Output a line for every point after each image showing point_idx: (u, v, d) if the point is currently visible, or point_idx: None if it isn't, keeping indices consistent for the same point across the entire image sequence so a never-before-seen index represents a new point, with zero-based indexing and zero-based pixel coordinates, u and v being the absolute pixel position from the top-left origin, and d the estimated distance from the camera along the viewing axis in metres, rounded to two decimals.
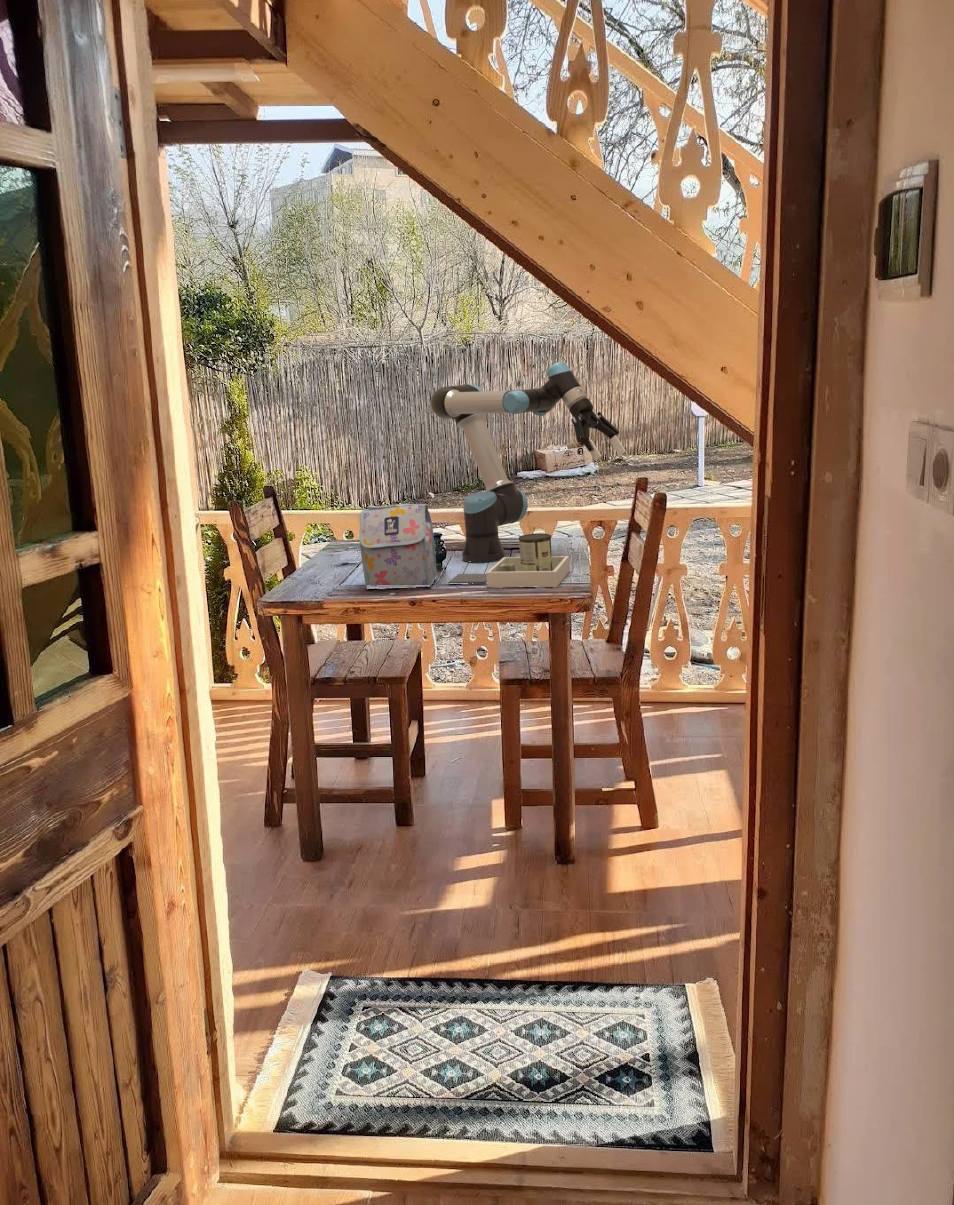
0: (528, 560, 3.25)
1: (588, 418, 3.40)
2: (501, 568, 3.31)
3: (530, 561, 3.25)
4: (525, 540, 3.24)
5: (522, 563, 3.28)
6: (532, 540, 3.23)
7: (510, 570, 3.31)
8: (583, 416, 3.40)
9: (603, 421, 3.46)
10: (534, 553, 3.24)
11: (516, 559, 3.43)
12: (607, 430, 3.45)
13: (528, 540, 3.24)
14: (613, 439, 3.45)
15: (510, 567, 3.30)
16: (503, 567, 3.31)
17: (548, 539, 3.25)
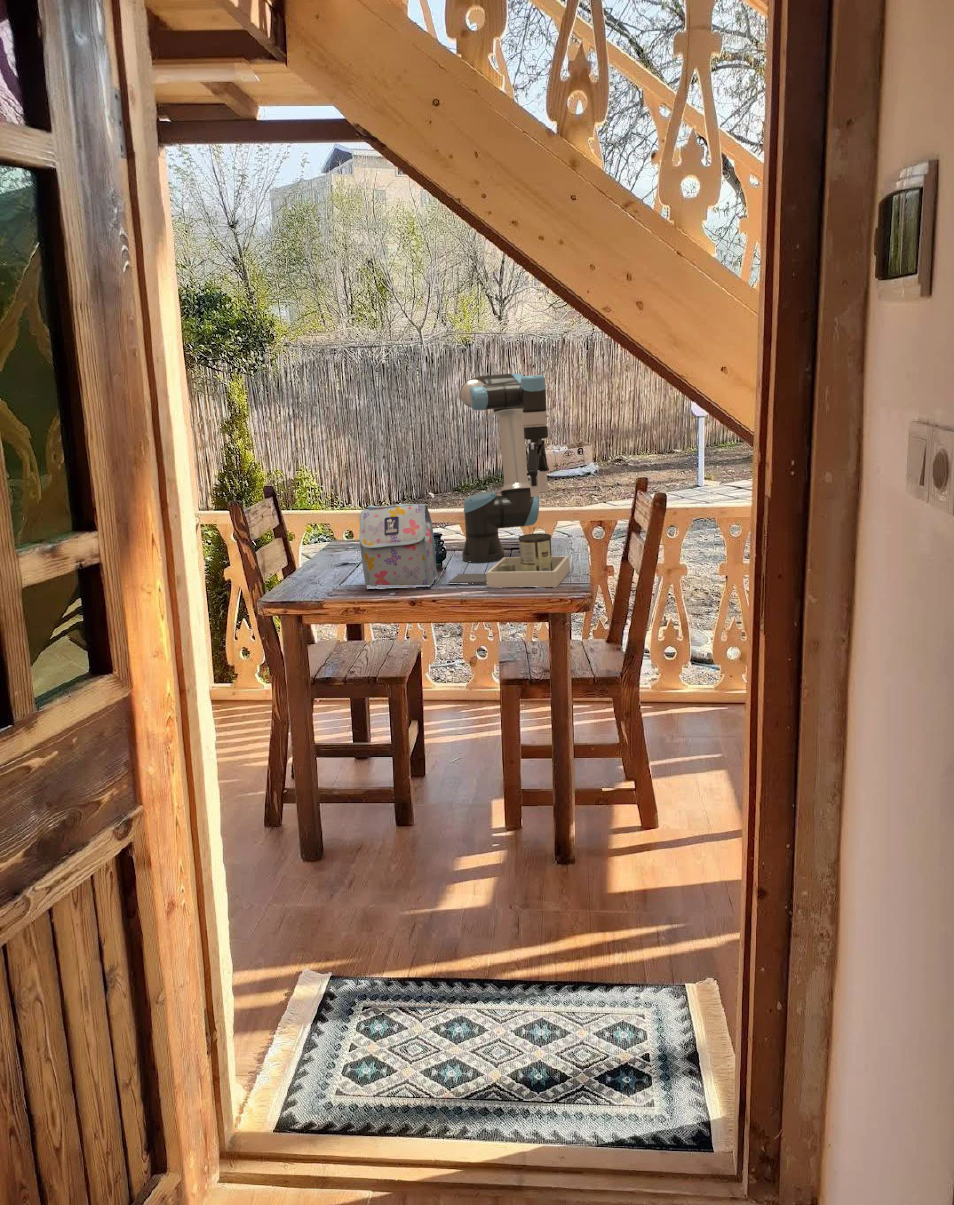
0: (528, 560, 3.25)
1: (541, 449, 3.20)
2: (501, 568, 3.31)
3: (530, 561, 3.25)
4: (525, 540, 3.24)
5: (522, 563, 3.28)
6: (532, 540, 3.23)
7: (510, 570, 3.30)
8: (538, 445, 3.19)
9: None
10: (534, 553, 3.24)
11: (516, 559, 3.43)
12: (543, 463, 3.29)
13: (528, 540, 3.24)
14: (542, 473, 3.31)
15: (510, 567, 3.30)
16: (503, 567, 3.31)
17: (548, 539, 3.25)
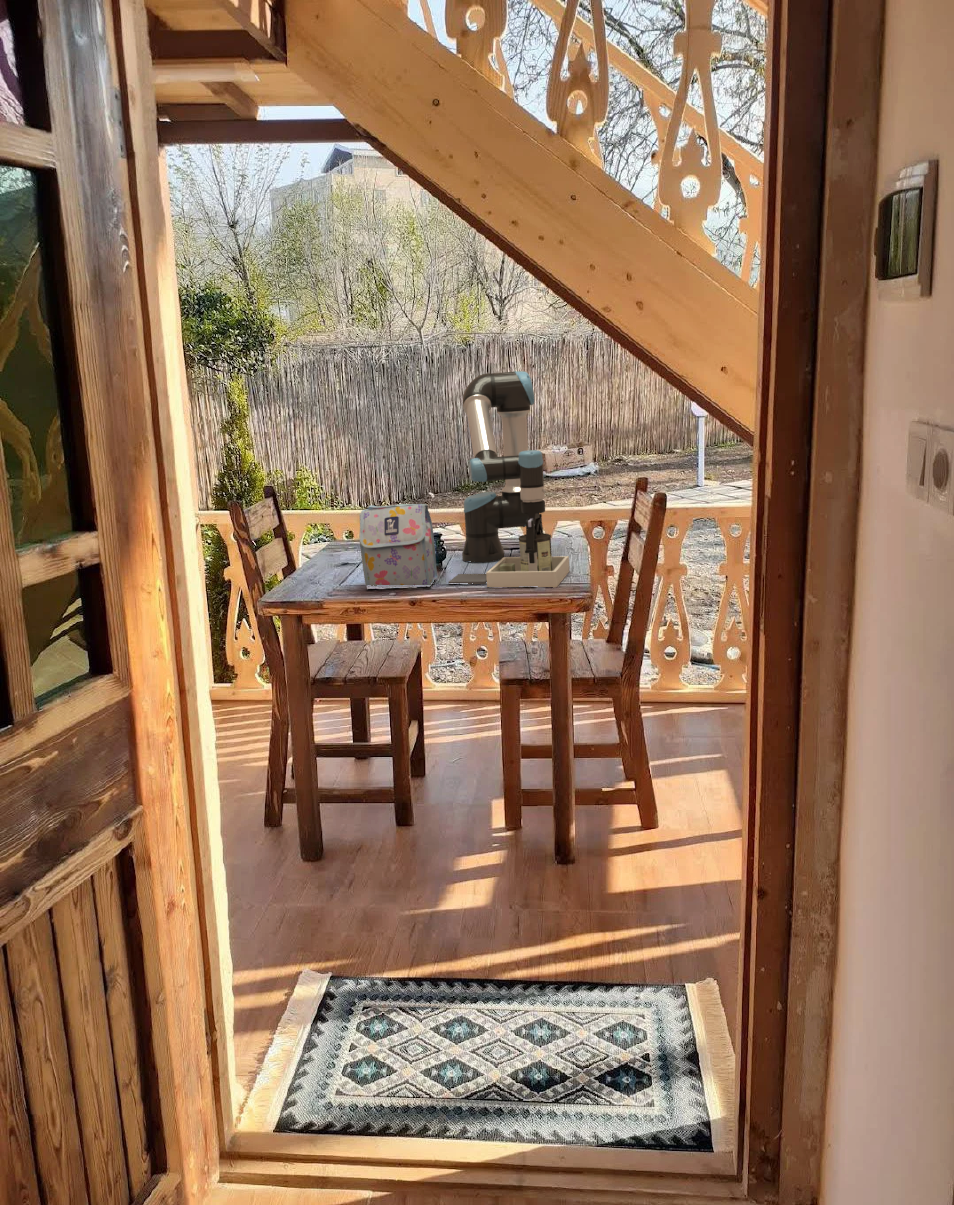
0: None
1: (538, 524, 3.25)
2: (501, 568, 3.31)
3: None
4: (525, 540, 3.24)
5: (522, 563, 3.28)
6: None
7: (510, 570, 3.31)
8: (535, 519, 3.23)
9: None
10: None
11: (516, 559, 3.43)
12: None
13: None
14: None
15: (510, 567, 3.30)
16: (503, 567, 3.31)
17: (548, 539, 3.25)
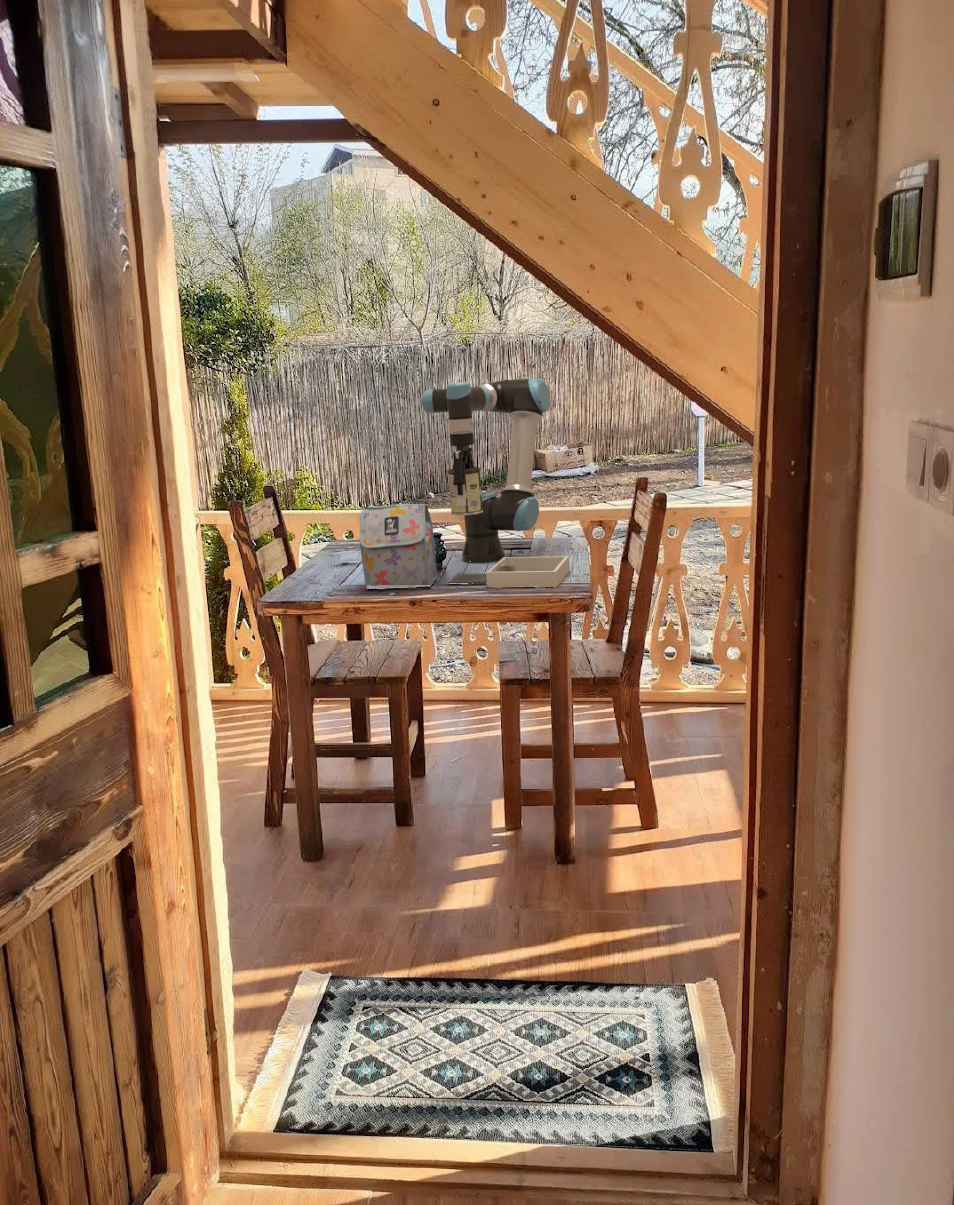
0: (456, 493, 3.25)
1: (466, 456, 3.24)
2: (501, 568, 3.31)
3: None
4: (453, 472, 3.24)
5: (451, 496, 3.27)
6: None
7: (510, 570, 3.31)
8: (463, 451, 3.23)
9: None
10: None
11: (516, 559, 3.43)
12: None
13: None
14: None
15: (510, 567, 3.30)
16: (503, 567, 3.31)
17: (477, 471, 3.25)
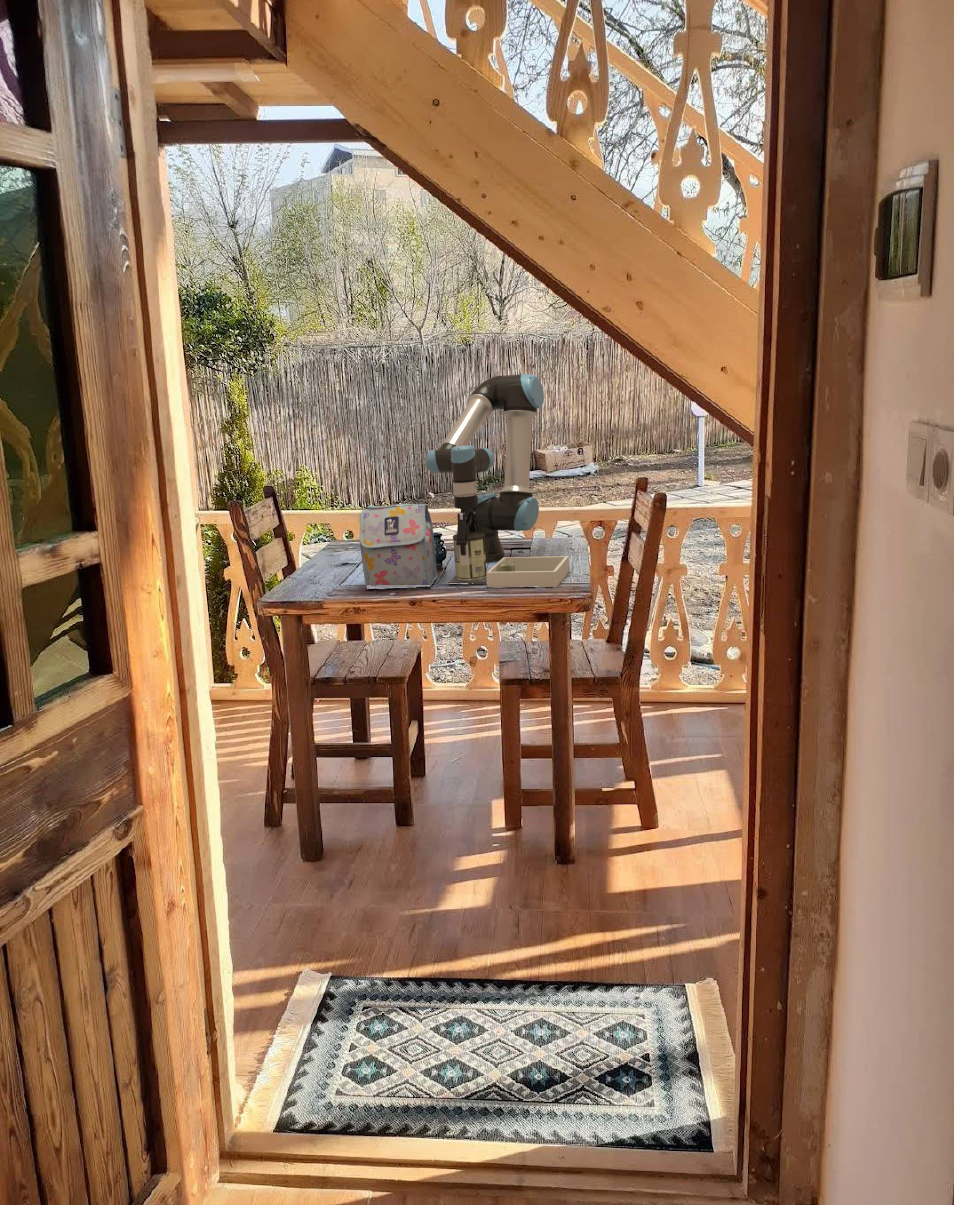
0: None
1: (470, 518, 3.28)
2: (501, 568, 3.31)
3: None
4: None
5: (456, 561, 3.32)
6: None
7: (510, 570, 3.31)
8: (467, 514, 3.28)
9: None
10: None
11: (516, 559, 3.43)
12: (474, 529, 3.37)
13: None
14: None
15: (510, 567, 3.30)
16: (503, 567, 3.31)
17: (481, 538, 3.29)
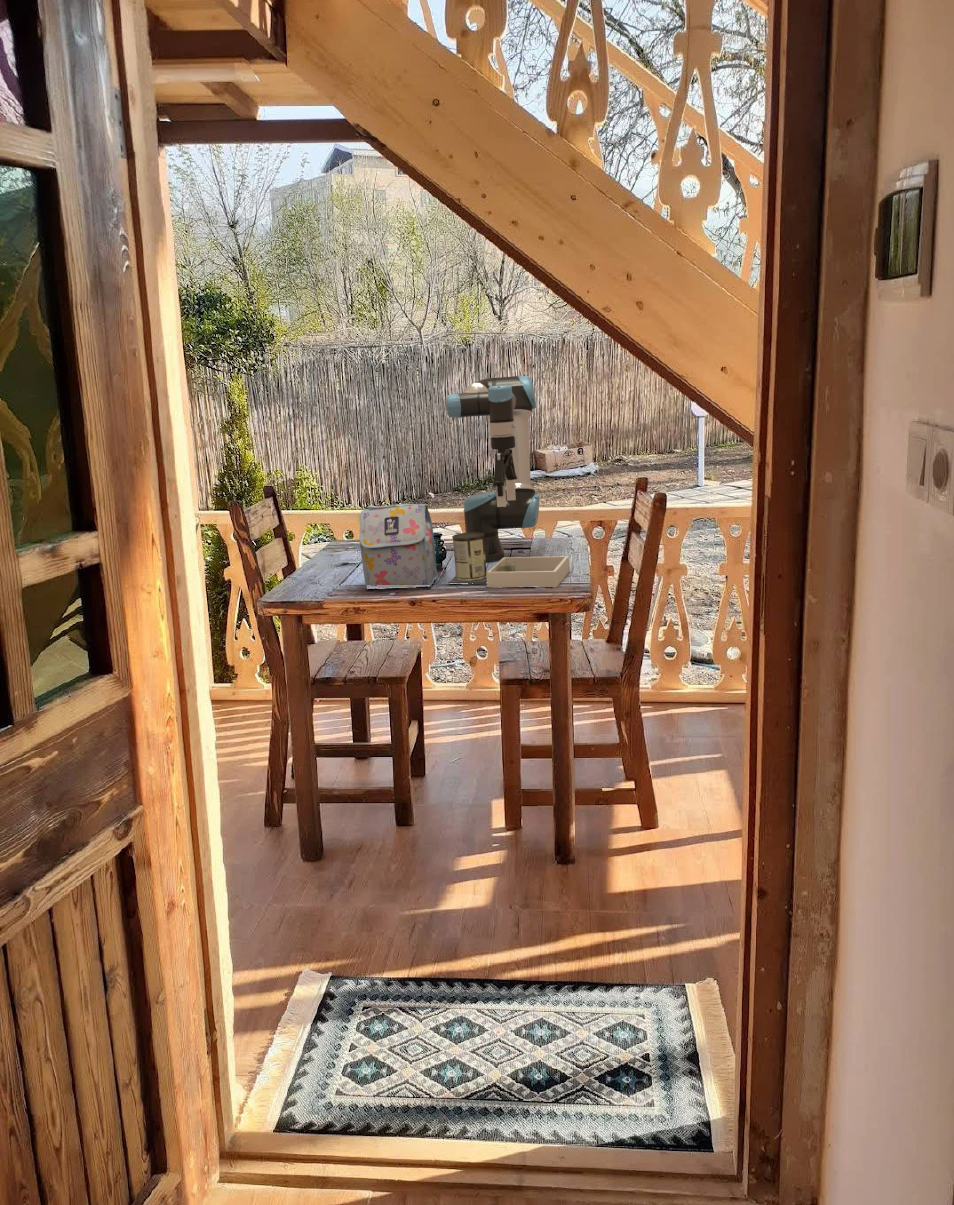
0: (461, 559, 3.30)
1: (508, 459, 3.22)
2: (501, 568, 3.31)
3: (463, 560, 3.29)
4: (458, 539, 3.28)
5: (456, 562, 3.32)
6: (464, 539, 3.27)
7: (510, 570, 3.31)
8: (504, 455, 3.21)
9: None
10: (467, 552, 3.28)
11: (516, 559, 3.43)
12: (510, 472, 3.30)
13: (461, 539, 3.28)
14: (510, 482, 3.32)
15: (510, 567, 3.30)
16: (503, 567, 3.31)
17: (481, 538, 3.29)
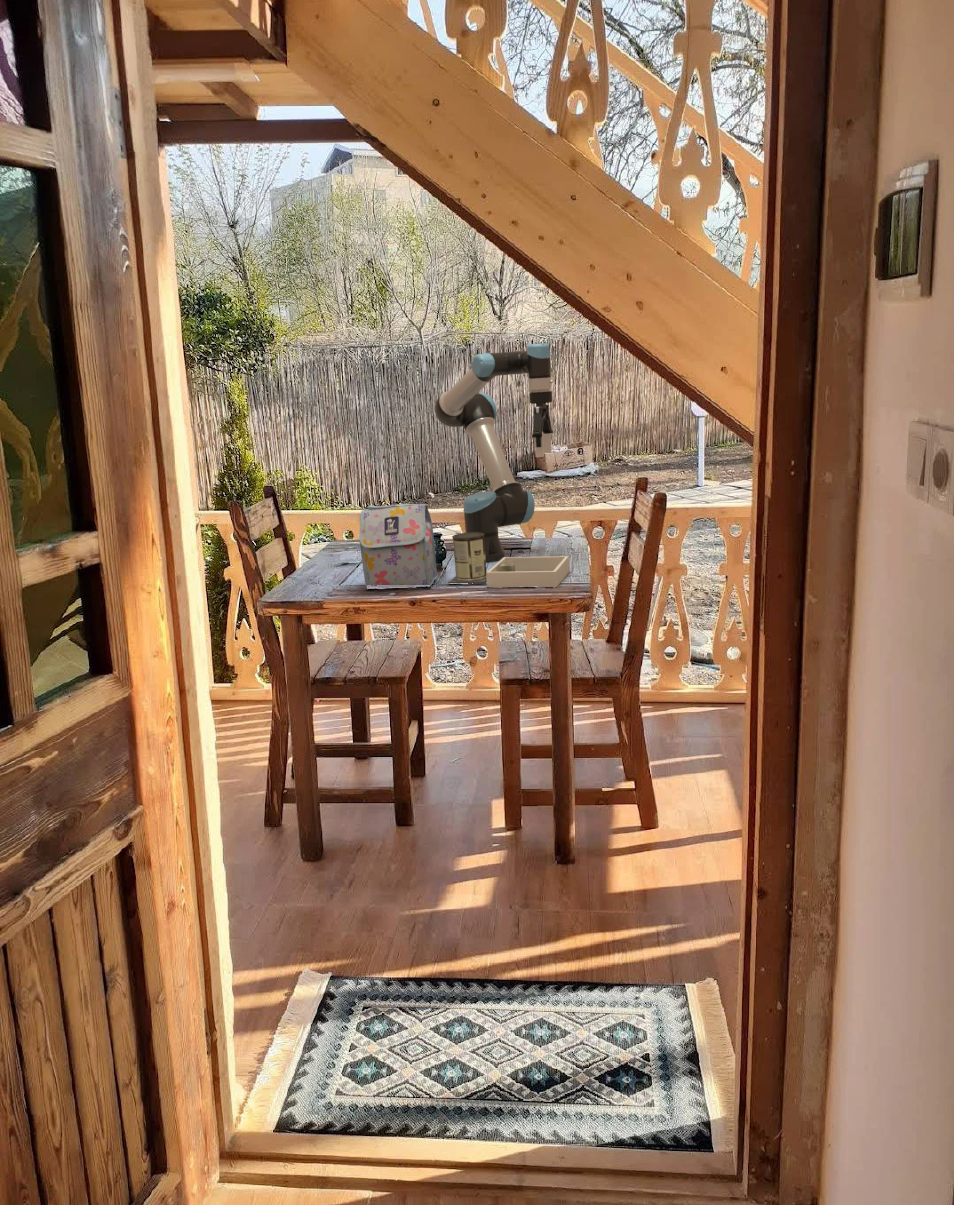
0: (461, 559, 3.30)
1: (545, 412, 3.45)
2: (501, 568, 3.31)
3: (463, 560, 3.29)
4: (458, 539, 3.28)
5: (456, 562, 3.32)
6: (465, 539, 3.27)
7: (510, 570, 3.31)
8: (542, 408, 3.44)
9: None
10: (467, 552, 3.28)
11: (516, 559, 3.43)
12: (547, 426, 3.53)
13: (461, 539, 3.28)
14: (546, 436, 3.55)
15: (510, 567, 3.30)
16: (503, 567, 3.31)
17: (481, 538, 3.29)
